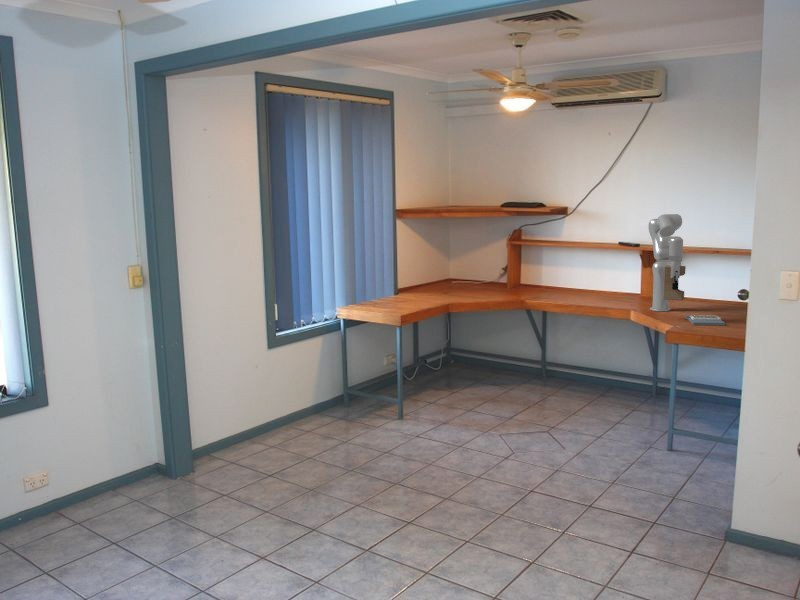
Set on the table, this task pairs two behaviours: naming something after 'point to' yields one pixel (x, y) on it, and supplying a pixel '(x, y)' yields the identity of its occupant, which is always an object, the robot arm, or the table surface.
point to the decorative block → (668, 282)
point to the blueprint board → (704, 320)
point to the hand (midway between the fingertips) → (674, 288)
